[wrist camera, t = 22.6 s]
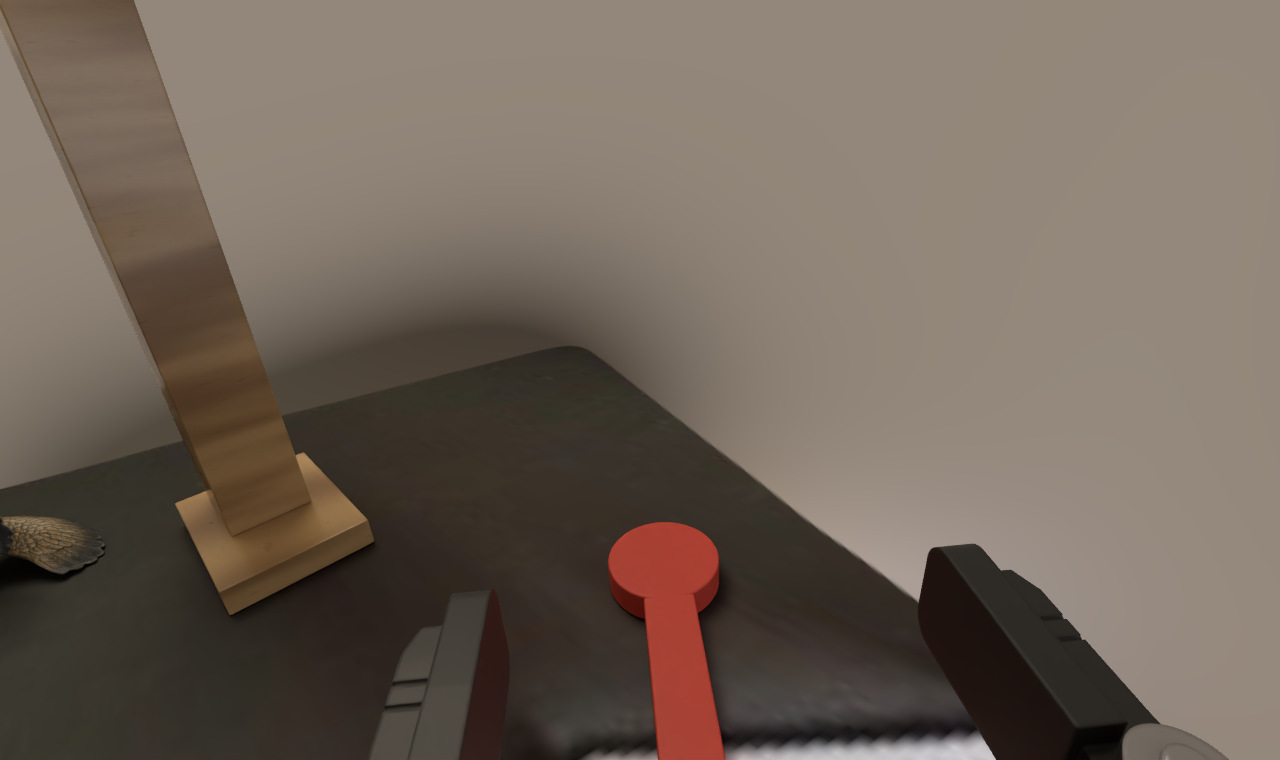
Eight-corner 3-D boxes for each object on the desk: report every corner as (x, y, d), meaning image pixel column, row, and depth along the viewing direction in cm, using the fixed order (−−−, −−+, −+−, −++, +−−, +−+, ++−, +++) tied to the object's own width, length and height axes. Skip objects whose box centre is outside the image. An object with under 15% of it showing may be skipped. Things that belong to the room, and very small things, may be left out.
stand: (374, 541, 34) (125, -258, 20) (229, 616, 29) (-222, -338, 15) (310, 471, 40) (89, -163, 26) (184, 524, 36) (-161, -201, 22)
